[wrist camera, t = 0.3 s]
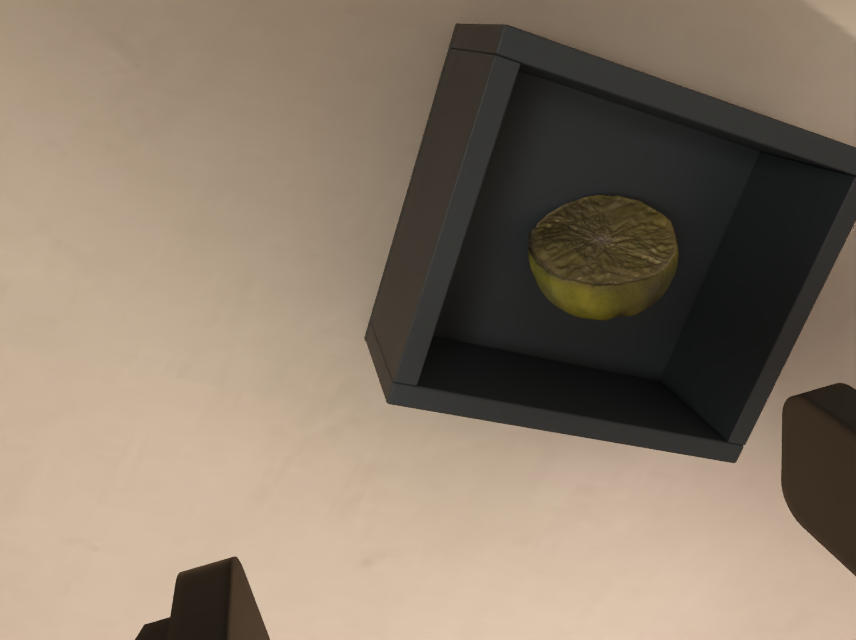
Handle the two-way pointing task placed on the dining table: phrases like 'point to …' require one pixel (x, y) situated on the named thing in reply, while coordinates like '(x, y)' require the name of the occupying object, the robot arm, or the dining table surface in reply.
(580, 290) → the lime
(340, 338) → the dining table surface
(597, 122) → the bin
